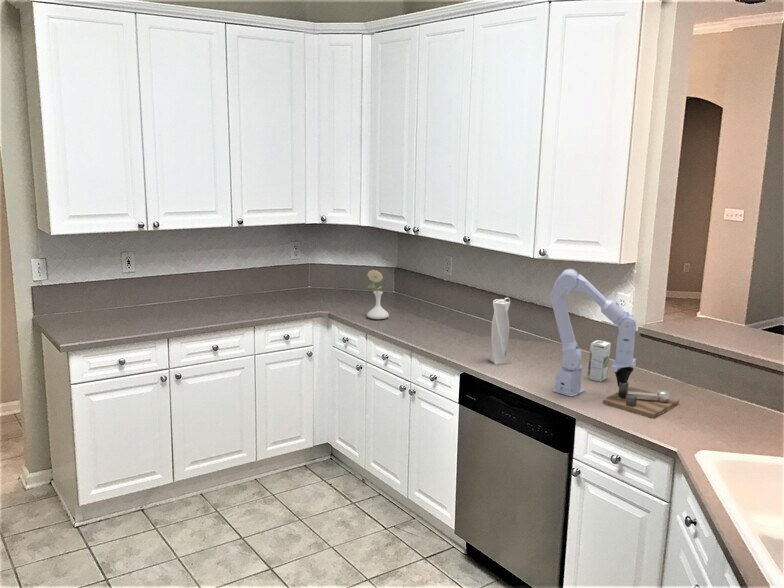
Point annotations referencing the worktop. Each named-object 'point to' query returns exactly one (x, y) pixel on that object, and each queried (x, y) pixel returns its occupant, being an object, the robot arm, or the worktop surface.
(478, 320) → the worktop surface
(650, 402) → the board
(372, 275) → the flower in vase
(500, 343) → the skyscraper
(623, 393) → the press lever
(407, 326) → the worktop surface
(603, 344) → the syrup box
